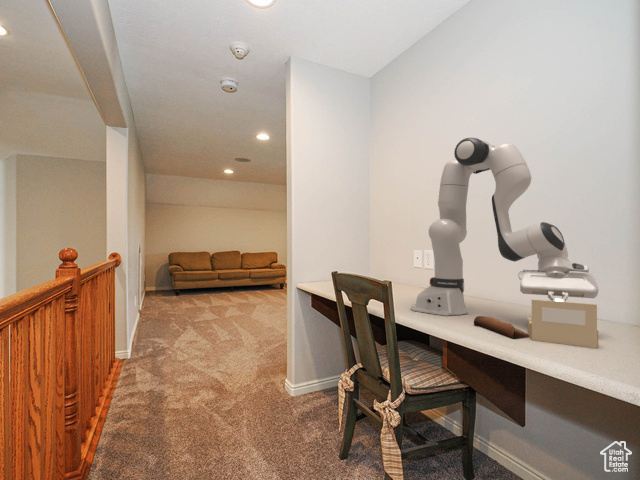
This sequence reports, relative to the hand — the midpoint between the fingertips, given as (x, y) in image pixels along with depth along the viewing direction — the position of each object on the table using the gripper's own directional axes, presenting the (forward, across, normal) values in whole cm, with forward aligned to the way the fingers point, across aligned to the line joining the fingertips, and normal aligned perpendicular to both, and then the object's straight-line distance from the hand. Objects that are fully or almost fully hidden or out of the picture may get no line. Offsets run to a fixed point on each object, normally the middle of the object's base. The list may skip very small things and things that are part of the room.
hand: (559, 305), depth 100 cm
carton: (+9, 0, +5) cm, 10 cm away
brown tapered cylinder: (+8, -15, +7) cm, 19 cm away
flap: (+13, 0, +1) cm, 13 cm away
